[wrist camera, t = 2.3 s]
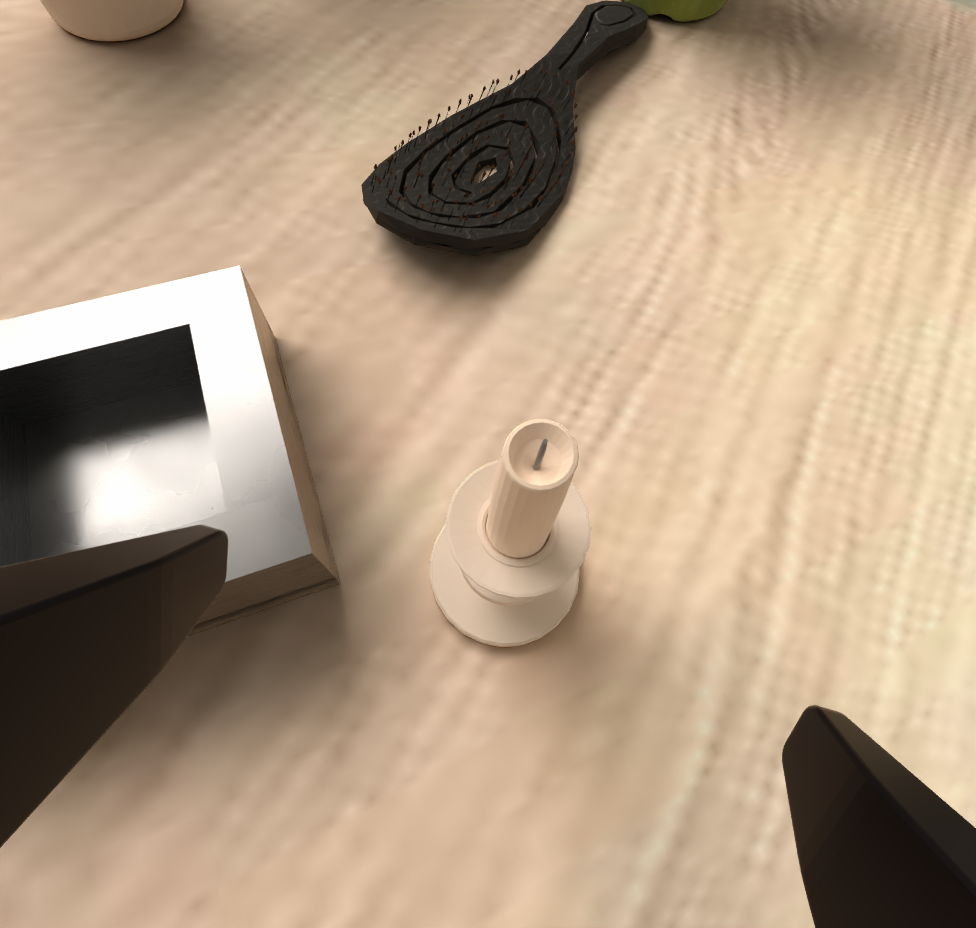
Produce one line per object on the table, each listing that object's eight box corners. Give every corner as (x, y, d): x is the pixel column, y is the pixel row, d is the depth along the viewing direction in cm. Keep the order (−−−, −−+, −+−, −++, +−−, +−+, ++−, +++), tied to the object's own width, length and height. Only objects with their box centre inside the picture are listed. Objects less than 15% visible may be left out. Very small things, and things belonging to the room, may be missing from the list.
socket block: (340, 583, 19) (311, 553, 15) (-10, 704, 17) (-139, 702, 13) (274, 335, 23) (239, 265, 19) (-16, 410, 21) (-115, 347, 17)
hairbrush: (711, -14, 31) (482, 244, 21) (686, 58, 35) (477, 312, 24) (582, -59, 33) (308, 160, 22) (569, 14, 36) (326, 235, 26)
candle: (528, 679, 18) (603, 646, 9) (400, 590, 19) (341, 473, 10) (603, 550, 20) (732, 407, 11) (483, 476, 21) (502, 283, 12)
